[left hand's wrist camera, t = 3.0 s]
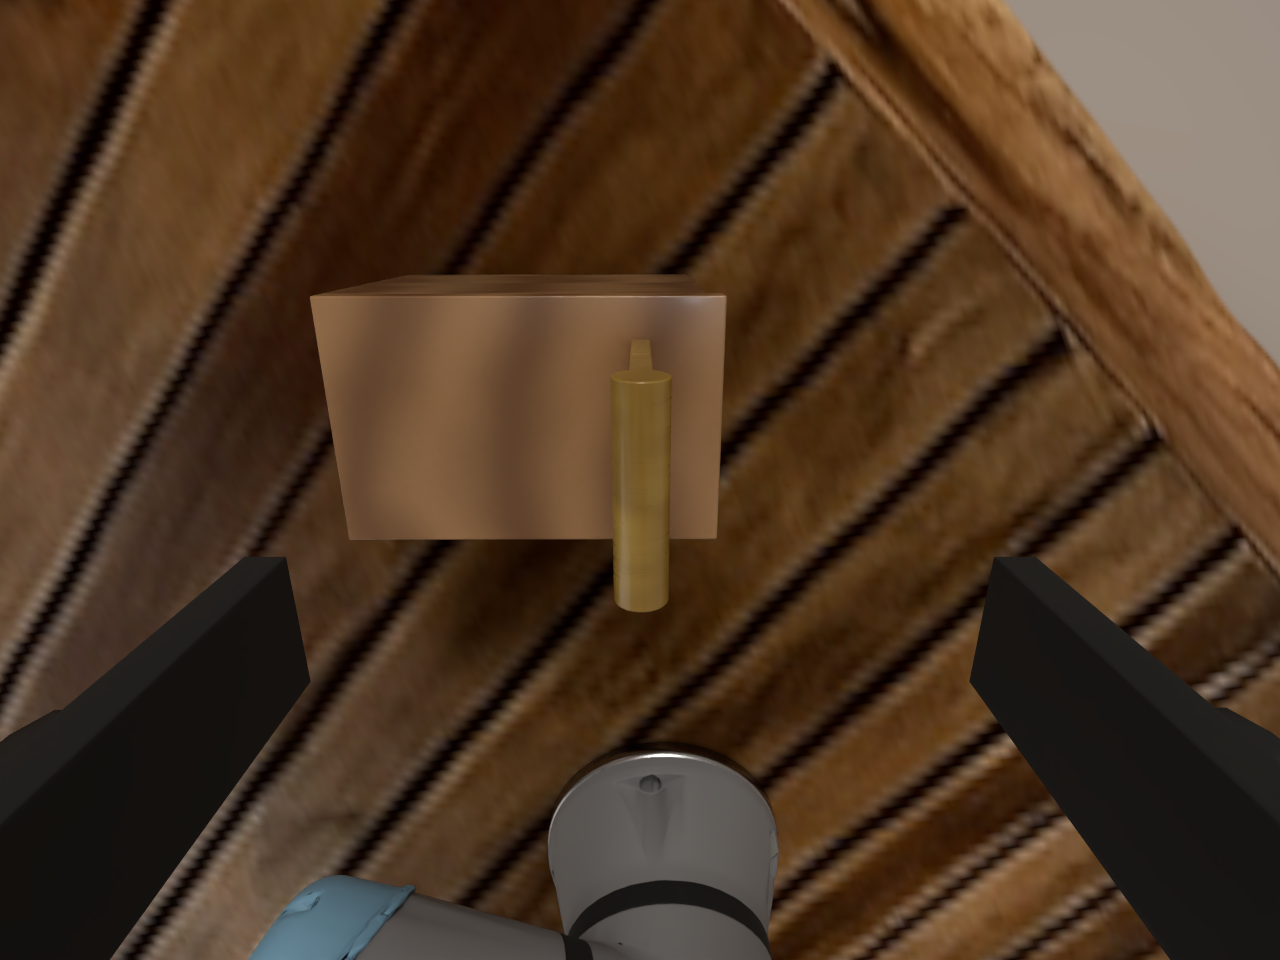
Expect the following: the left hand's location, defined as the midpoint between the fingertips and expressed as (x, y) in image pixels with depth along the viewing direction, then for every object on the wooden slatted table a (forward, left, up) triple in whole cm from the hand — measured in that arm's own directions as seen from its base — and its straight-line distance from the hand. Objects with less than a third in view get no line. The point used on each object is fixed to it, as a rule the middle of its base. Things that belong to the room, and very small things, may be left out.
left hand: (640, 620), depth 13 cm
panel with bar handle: (-3, +3, -15) cm, 15 cm away
